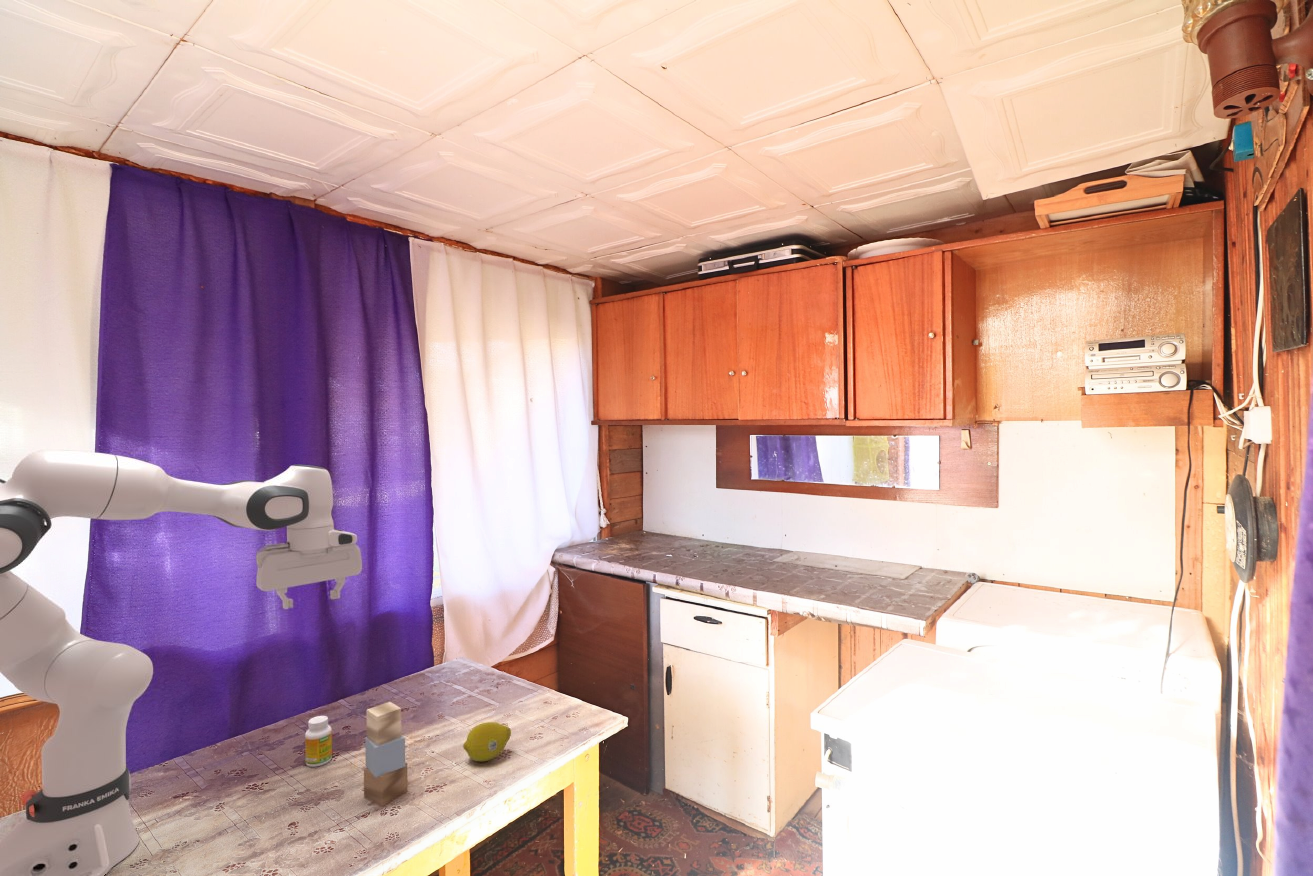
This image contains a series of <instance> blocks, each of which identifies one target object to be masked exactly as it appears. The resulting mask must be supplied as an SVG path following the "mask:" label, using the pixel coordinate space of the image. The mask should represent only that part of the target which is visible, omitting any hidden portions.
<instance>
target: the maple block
mask: <svg viewBox="0 0 1313 876" xmlns="http://www.w3.org/2000/svg"><path fill="white" fill-rule="evenodd" d="M365 713H366V737H367V739H369V740H370V741H372V742H373V743H374V744H376V745H377V746H379V745H382V744H384V743H387V742H389V741H392V740H394V739H397V738H400V737H402V736H403V735H402V708H401V707H400V706H398V705H397V704H395V703H393V702H391V701H388V702H385V703H382V704H380V705H376V706H373V707H371V708H367V709H366V712H365Z"/></svg>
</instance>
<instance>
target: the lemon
mask: <svg viewBox="0 0 1313 876" xmlns="http://www.w3.org/2000/svg"><path fill="white" fill-rule="evenodd" d="M511 736H512V730H511V728H510V727H509V726H507V725H504V724H502V723H499V722H496V721H495V722H494V721H489V722H482V723H479V724H477V725H475V726H474V727H473V728H472V729H470V730H469V733H468V734H467V736H466V740H465V742H464V743H463V746H462V747H463V750H465V751H466V753H467V755H468V757H469V758H470V759H472V761H476V762H479V763H480V762H481V763H482V762H487V761H491V760H493V759H494V758H496V757H497V756H499V755H500V753H502V752H503V750H504V749H505V747H506V746H507V743H508V742H509V740H510V737H511Z"/></svg>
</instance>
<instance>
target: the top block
mask: <svg viewBox="0 0 1313 876" xmlns="http://www.w3.org/2000/svg"><path fill="white" fill-rule="evenodd" d="M364 740H365V745H364V747H365V752H364V753H365V768H368V769H369V770H370V772H371V773H372V774H373V775H374V776H375V777H378V776H381V775H384V774H386V773H389V772H392V771H394V770H397V769H400V768H402V767H405V763H406V737H405V736H404V735H402V737H400V738H397V739H394V740H392V741H389V742H387V743H384V744H382V745H379V746H377V745H376V744H374V743H373V742H372V741H370V740H369V739H367V736H366V737H365V738H364Z"/></svg>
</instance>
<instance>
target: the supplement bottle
mask: <svg viewBox="0 0 1313 876" xmlns="http://www.w3.org/2000/svg"><path fill="white" fill-rule="evenodd" d="M307 723H308V726H307V727H308V729H307V730H306V732H305V734H304V735H305V736H304V740H305V741H304V744H305V746H304V747H305V764H306V766H307V767H311V768H312V767H313V768H315V767H319V766H323V765H325V764H327V763H330V761H331V760H332V758H333V739H332V738H333V734H332V731H333V730H332V727H331V725H329V717H328V716H327V715H317V716H315V717H311V718H310V719H309V720H308V722H307Z"/></svg>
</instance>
